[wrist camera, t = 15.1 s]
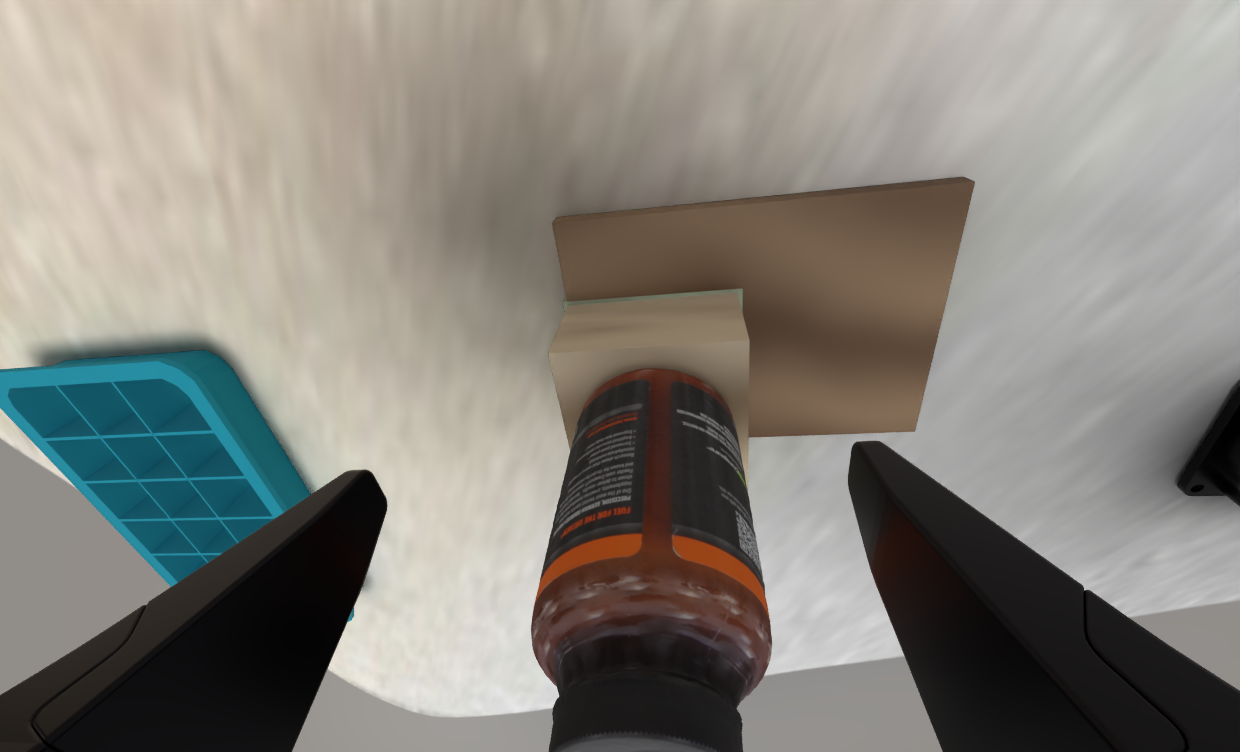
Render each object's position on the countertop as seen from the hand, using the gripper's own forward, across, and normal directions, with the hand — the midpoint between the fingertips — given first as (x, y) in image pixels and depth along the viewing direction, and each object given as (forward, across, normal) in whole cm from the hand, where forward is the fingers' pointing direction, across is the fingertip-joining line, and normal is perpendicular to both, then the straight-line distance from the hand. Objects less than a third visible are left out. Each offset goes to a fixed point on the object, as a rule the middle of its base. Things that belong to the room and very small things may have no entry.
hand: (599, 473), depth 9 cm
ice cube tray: (+14, +26, +12) cm, 32 cm away
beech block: (+12, 0, +6) cm, 14 cm away
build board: (+13, -4, +4) cm, 15 cm away
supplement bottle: (+9, 0, +6) cm, 10 cm away
